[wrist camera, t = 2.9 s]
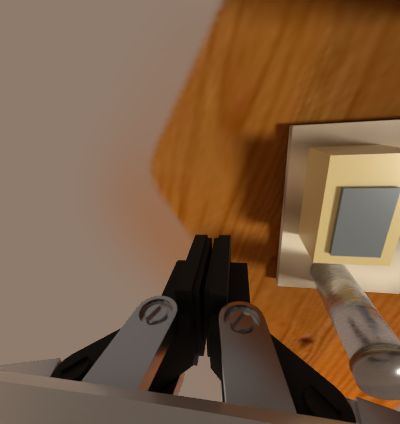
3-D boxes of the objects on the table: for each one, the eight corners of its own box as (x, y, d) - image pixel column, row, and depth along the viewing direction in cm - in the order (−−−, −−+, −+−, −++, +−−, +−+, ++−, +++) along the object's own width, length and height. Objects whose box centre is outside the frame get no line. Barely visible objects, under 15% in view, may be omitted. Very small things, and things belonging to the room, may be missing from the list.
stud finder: (309, 147, 16) (332, 156, 12) (380, 144, 15) (431, 153, 11) (298, 234, 18) (314, 265, 14) (358, 235, 17) (392, 269, 13)
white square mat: (289, 125, 16) (292, 125, 15) (545, 110, 13) (568, 110, 13) (275, 278, 21) (277, 285, 20) (458, 289, 19) (469, 298, 18)
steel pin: (310, 254, 19) (363, 355, 11) (351, 255, 18) (440, 363, 10) (305, 284, 20) (350, 395, 12) (343, 286, 19) (418, 404, 11)
